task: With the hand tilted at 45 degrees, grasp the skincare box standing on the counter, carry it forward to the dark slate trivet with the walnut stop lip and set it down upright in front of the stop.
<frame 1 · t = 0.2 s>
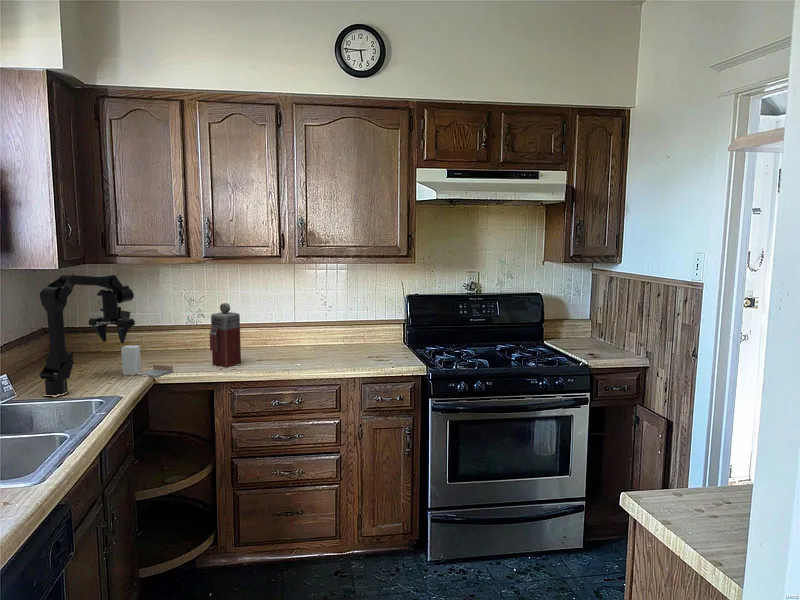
hand: (113, 342, 235), 14 cm above the worktop, tool pointing down, fingers open, 9 cm apart
trivet: (156, 373, 242), on the worktop
skincare box: (132, 374, 241), on the worktop
red french press: (225, 365, 258), on the worktop
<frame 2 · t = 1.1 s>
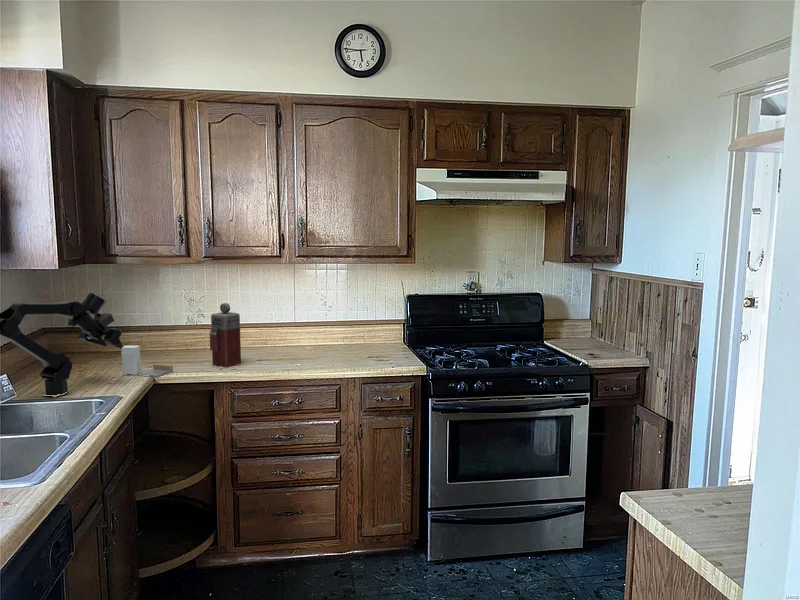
hand: (114, 346, 232), 13 cm above the worktop, tool tilted 45°, fingers open, 9 cm apart
nothing on the worktop moved.
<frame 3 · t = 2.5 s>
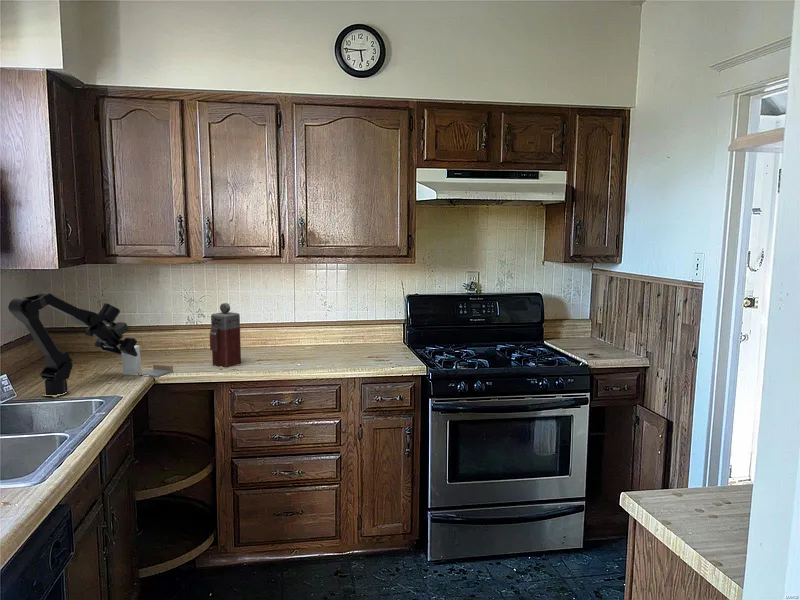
hand: (128, 354, 239), 9 cm above the worktop, tool tilted 45°, fingers open, 9 cm apart
nothing on the worktop moved.
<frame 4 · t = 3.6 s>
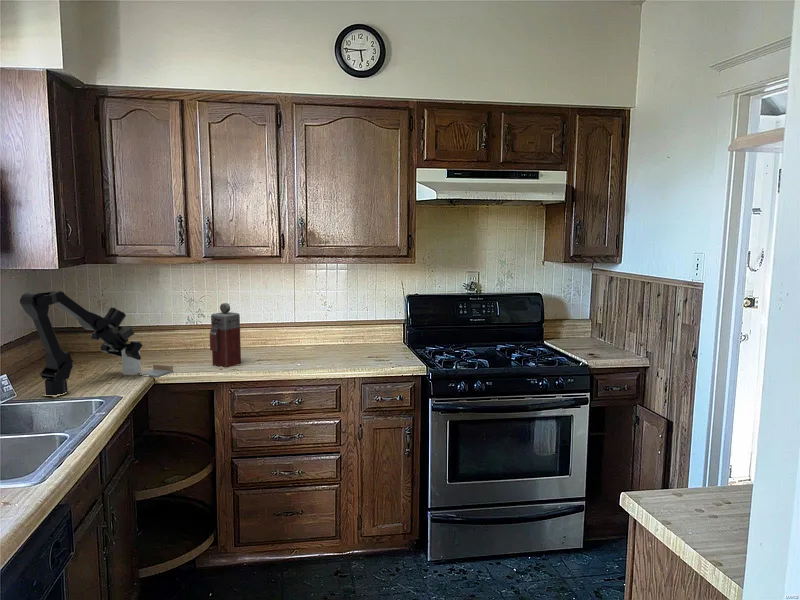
hand: (134, 358, 241), 7 cm above the worktop, tool tilted 45°, fingers closed on skincare box, 7 cm apart
skincare box: (132, 374, 241), on the worktop, touching gripper
everything else where it was.
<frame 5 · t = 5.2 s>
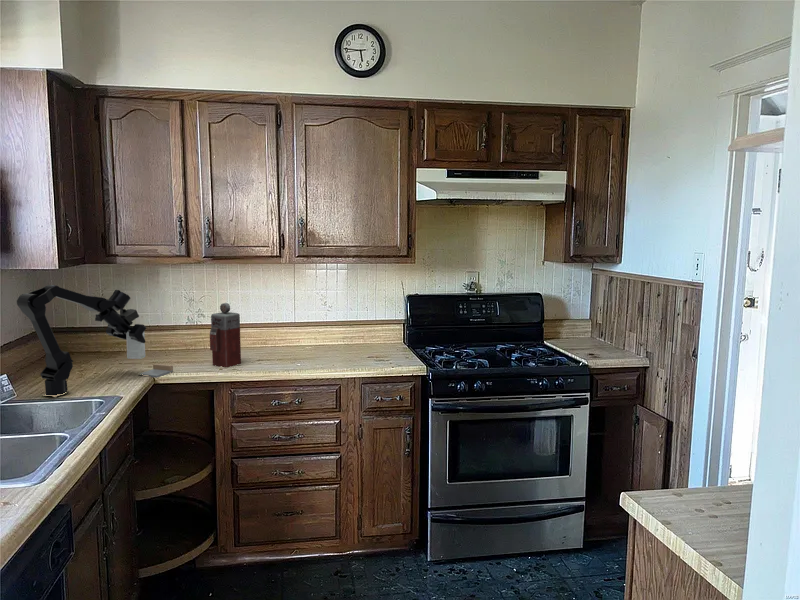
hand: (138, 341, 241), 14 cm above the worktop, tool tilted 45°, fingers closed on skincare box, 7 cm apart
skincare box: (136, 358, 240), point 7 cm above the worktop, touching gripper
everything else where it was.
when the fingers open (8 cm above the worktop, at t = 7.1 s): skincare box stays where it is, resting on trivet.
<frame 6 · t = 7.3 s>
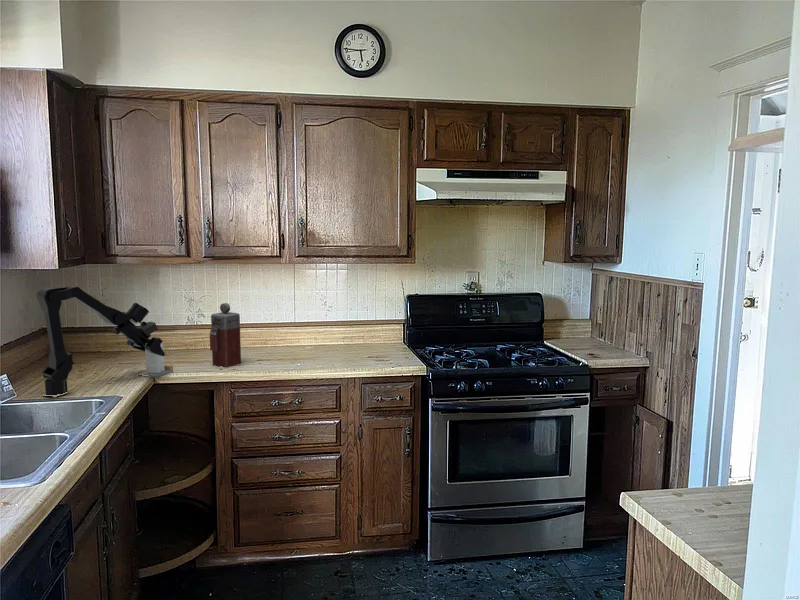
hand: (158, 353, 242), 8 cm above the worktop, tool tilted 45°, fingers open, 9 cm apart
skincare box: (155, 372, 242), point 1 cm above the worktop, touching trivet
everything else where it was.
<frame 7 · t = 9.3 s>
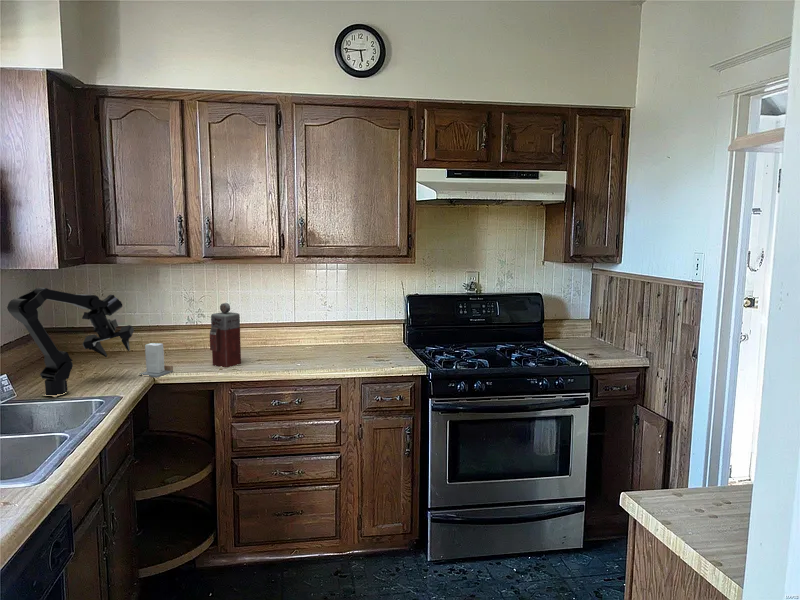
hand: (117, 353, 233), 10 cm above the worktop, tool tilted 25°, fingers open, 9 cm apart
nothing on the worktop moved.
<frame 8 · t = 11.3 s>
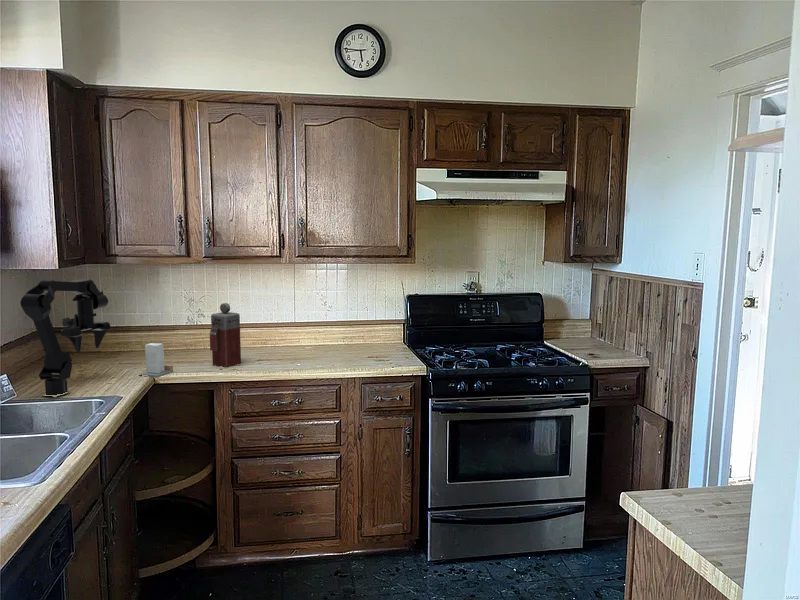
hand: (87, 350, 227), 13 cm above the worktop, tool pointing down, fingers open, 9 cm apart
nothing on the worktop moved.
at the end: skincare box inside the target area on the trivet (0.3 cm from its centre), point 0.6 cm above the trivet's base; skincare box tilted 0°; the gripper is holding nothing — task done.
